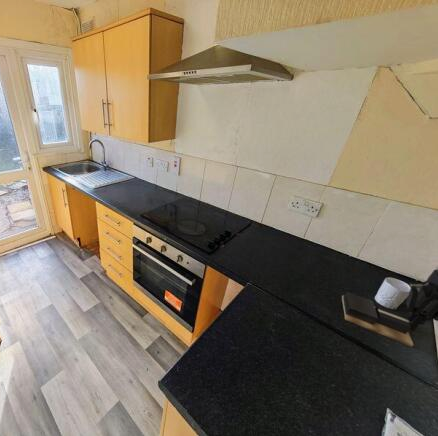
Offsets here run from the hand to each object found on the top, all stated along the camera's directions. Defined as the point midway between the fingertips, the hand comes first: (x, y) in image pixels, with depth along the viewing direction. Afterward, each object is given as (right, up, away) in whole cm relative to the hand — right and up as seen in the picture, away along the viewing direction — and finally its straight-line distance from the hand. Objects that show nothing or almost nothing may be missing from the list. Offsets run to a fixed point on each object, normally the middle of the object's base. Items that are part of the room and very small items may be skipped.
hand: (408, 327), depth 80 cm
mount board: (-8, +1, +5) cm, 9 cm away
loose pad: (-4, 0, +3) cm, 5 cm away
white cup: (+5, +4, +13) cm, 14 cm away
